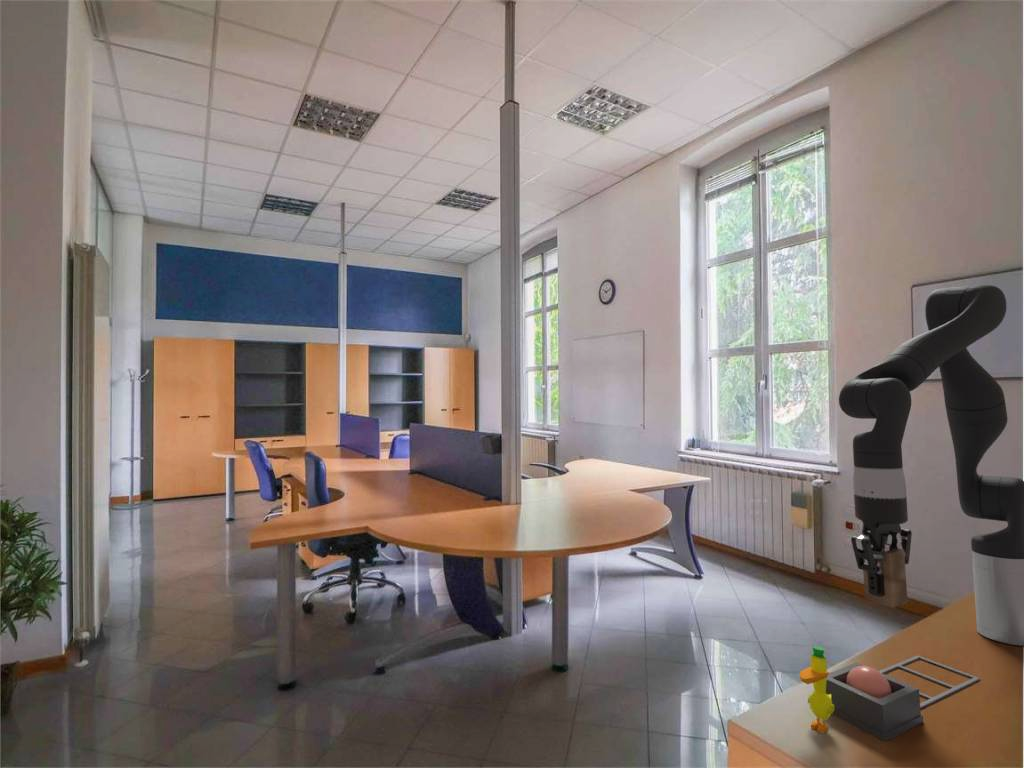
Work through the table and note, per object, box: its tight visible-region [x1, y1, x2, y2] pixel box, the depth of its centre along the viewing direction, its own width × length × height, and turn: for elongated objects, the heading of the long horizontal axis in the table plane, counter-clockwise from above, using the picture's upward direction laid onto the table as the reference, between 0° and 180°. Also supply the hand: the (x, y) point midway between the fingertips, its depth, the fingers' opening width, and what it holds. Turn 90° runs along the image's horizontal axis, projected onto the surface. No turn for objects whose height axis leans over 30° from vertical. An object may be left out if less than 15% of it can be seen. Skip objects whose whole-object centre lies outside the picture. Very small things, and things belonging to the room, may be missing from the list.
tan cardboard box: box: [862, 549, 908, 609], centre depth 90 cm, size 4×4×9 cm
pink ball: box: [846, 665, 892, 699], centre depth 84 cm, size 6×6×6 cm
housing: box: [826, 662, 924, 742], centre depth 84 cm, size 10×10×5 cm
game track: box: [878, 655, 981, 710], centre depth 92 cm, size 22×10×1 cm, turn 116°
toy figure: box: [798, 645, 834, 734], centre depth 80 cm, size 7×4×12 cm, turn 116°
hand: (885, 592), depth 90 cm, fingers closed on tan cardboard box, 4 cm apart
